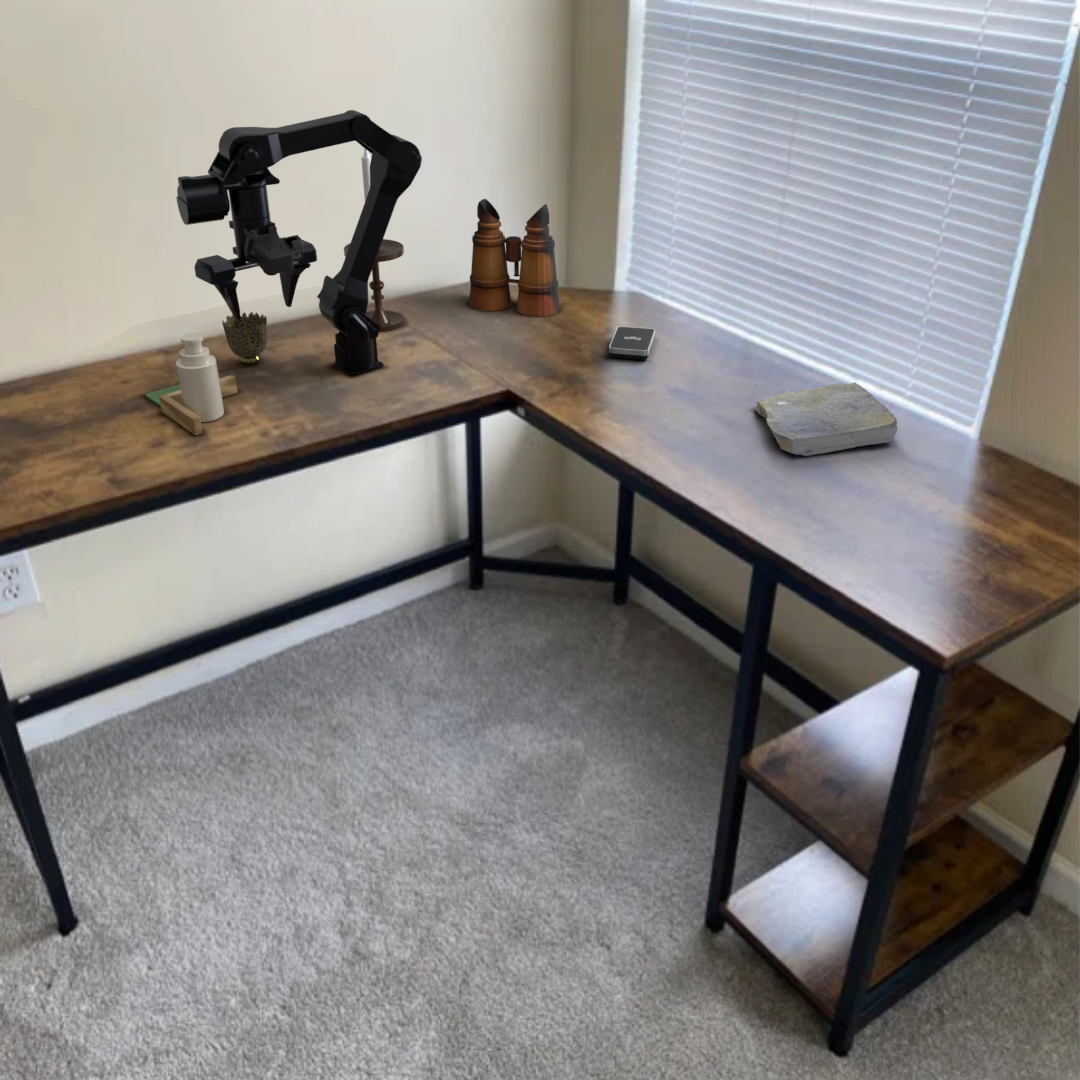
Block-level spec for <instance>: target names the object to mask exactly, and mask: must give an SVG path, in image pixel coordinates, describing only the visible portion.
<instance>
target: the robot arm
mask: <svg viewBox="0 0 1080 1080" xmlns="http://www.w3.org/2000/svg"><path fill="white" fill-rule="evenodd" d="M351 142H356V143H357V144H358V145H359V146H361V147H362V148H363V149H366V150H367V151H368V153H369V154H371V156H372V157H371V162H370V189H369V192H368V195H367V198H366V201H365V200H364V204H363V205H362V206H363V207H362V210H361V212H360V215H359V218H358V221H357V223H356V227H355V229H354V232H353V235H352V238H351V241H350V243H349V244H350V246H349V249H348V252H347V255H346V257H345V256H344V257H345V258H344V261H343V264H342V266H341V268H340V270H339V271H338V272H337V273H336V274H335V276H334V277H331V276H329V275H328V274H327V275H325V276H324V278H323V282H322V288H321V290H320V292H319V293H318V294H317V296H316V298H317V299H319V302H318V309H319V311H320V314H321V315H322V317H324V319H326V321H328V322H329V323H330V324H331V325H332V327H333V328H334V329H336V330H338V331H339V332H336V333H335V334H334V339H335V343H333V349H334V350H333V351H334V359H335V360H334V362H332V366H333V367H334V368H337V369H338V370H341V371H343V372H344V373H347V374H348V375H349V376H350V375H351V376H353V377H355V376H359V375H361V374H364V373H365V374H366V373H367V372H370V371H374V370H377V369H381V368H384V366H385V365H384V362H381V361H380V360H379V356H378V355H379V354H378V344H377V339H378V337H379V333H380V332H379V330H380V325H379V324H377V323H376V322H375V321H373V320H372V319H371V318H369V317H368V316H367V315H366V312H368V311H367V310H368V306H369V280H370V276H371V275H372V268H373V265H374V263H375V260H376V257H377V254H378V252H379V249H380V246H381V243H382V241H383V239H384V237H385V235H386V232H387V229H388V226H389V223H390V221H391V218H392V215H393V212H394V210H395V207H396V205H397V202H398V200H399V198H400V197H401V196H402V195H403V194H404V193H405V192H406V191H407V190H408V189H409V187H410V186H412V183H413V182H414V180H415V177H416V176H417V175H418V173H419V171H420V169H421V166H422V162H423V160H422V159H423V157H422V155H421V152H420V149H419V148H418V147H417V145H416V144H414V143H413V142H412V141H409V140H406V139H405V138H402V137H400V136H398V135H395V134H391V133H390V132H389V131H386V130H385V129H384V128H383V127H381V126H379V124H377V123H375V122H374V121H373V120H371V118H370V117H369V116H368V115H367V114H365V113H362V112H360V111H357V110H355V109H349V110H346V111H345V112H342V113H338V114H334V115H329V116H324V117H320V118H314V119H311V120H306V121H301V122H296V123H292V124H288V125H283V126H277V127H264V126H234V127H230V128H227V129H226V130H224V131H223V132H222V135H221V137H220V138H219V142H218V151H217V153H216V155H215V157H214V159H213V161H212V162H211V164H210V167H209V169H208V170H207V174H204V175H194V176H189V175H185V176H183V175H182V176H178V177H177V183H178V186H177V189H176V190H177V191H176V194H177V196H176V203H177V204H176V205H177V208H178V212H179V215H180V218H181V221H182V222H183V224H184V225H185V226H189V225H196V224H204V223H211V222H217V221H218V222H219V221H223V220H224V219H225V217H226V216H227V217H228V216H229V212H230V211H231V212H230V213H231V219H232V220H228V225H229V226H228V227H229V229H231V230H233V233H234V241H235V246H233V247H232V254H233V255H236V256H237V257H234V258H230V259H227V258H225V257H223V256H221V255H218V254H215V255H210V256H206V257H200V258H197V259H196V262H195V264H194V274H195V278H197V279H199V280H201V281H203V282H206V283H208V284H209V285H213V286H214V287H215V289H216V290H217V291H218V293H219V295H220V296H221V297H222V299H223V300H224V302H225V304H226V306H227V307H228V309H229V311H230V312H231V315H233V316H234V317H235V319H237V320H240V319H241V318H240V316H241V308H240V303H239V297H238V293H237V289H238V286H239V282H238V281H237V280H235V277H236V275H237V274H236V272H239V271H244V270H248V269H253V268H257V267H259V268H260V269H261V270H262V272H263V273H264V274H265V275H266V276H272V277H273V276H276V275H277V274H279V280H280V285H281V291H282V298H283V301H284V304H285V306H286V307H287V308H291V307H292V306H293V301H294V297H295V293H296V289H297V285H298V282H299V279H300V276H301V275H302V274H303V272H304V271H305V270H306V269H309V268H311V264H312V263H316V262H317V261H318V254H317V249H316V247H315V246H314V244H313V243H312V242H309V241H307V240H304V239H302V238H301V237H300V236H299V235H298V234H294V235H289V236H284V237H280V236H279V235H280V234H278V233H279V232H278V230H277V229H278V228H277V226H276V222H273V221H272V220H271V213H270V204H269V196H268V189H267V186H272V185H279V184H280V182H281V180H280V179H279V177H276V176H275V175H274V174H273V173H272V172H271V171H270V169H269V168H270V167H273V166H274V165H276V164H277V163H279V162H280V161H281V160H283V159H285V158H287V157H290V156H294V155H299V154H302V153H307V152H311V151H315V150H320V149H324V148H329V147H334V146H338V145H342V144H346V143H351Z"/></svg>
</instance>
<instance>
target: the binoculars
mask: <svg viewBox="0 0 1080 1080" xmlns="http://www.w3.org/2000/svg"><path fill="white" fill-rule="evenodd" d="M476 216H477V218H478V221H477V223H476V224H477V230H475V231H474V233H473V235H472V236H471V241H472V252H471V253H472V254H471V255H472V256H471V270H470V274H469V283H470V289H469V298H468V304H469V306H470V307H471V308H472V309H475V310H478V311H486V312H493V311H501V310H506V309H508V308H510V307H511V306H512V296H511V289H510V284H516V285H517V287H518V292H517V302H516V311H517V312H518V313H519V314H521V315H524V316H528V317H548V316H553V315H555V314H557V313H559V311H560V310H561V309H560V300H559V299H560V298H559V291H558V289H559V280H558V277H557V266H556V255H555V247H556V242H555V240H554V238H553V236H551V235H550V226H549V225H550V211H549V207H548V204H546V203H545V204H543V205H542V206H541V207H540V208H539V209H538V210H537V211H536V212H535V213H534V214H533V215H532V216H530V218H529V219H528V220H527V221H526V225H525V226H524V230H525V232H526V235H524V236H523V239H522V238H521V237H520V236H515V235H513V236H512V235H511V236H507V237H506V236H505V235H504V231H502V230H500V228H501V227H502V221H500V219H501V218H500V215H499V213H498V211H497V209H496V208H495V207H494V205H493V204H492V203H491V201H489V200H488V199H487V198H483V199H481V200H480V201H478V203H477V207H476ZM508 262H509V263H514V265H513V268H514V270H513V271H514V274H513V277H516V278H517V277H518V278H519V279H515V278H511V277H510V274H509V269H508ZM519 264H520V265H519ZM519 266H520V267H519Z"/></svg>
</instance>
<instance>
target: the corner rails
mask: <svg viewBox="0 0 1080 1080" xmlns="http://www.w3.org/2000/svg"><path fill="white" fill-rule="evenodd" d="M219 381H220V387H221V394H222V398H225V397H228V396H231V395H235V394H237V393H239V392H238V385H237V379H236V376H235V375H233V374H230V375H227V376H222V377H219ZM159 399H160V404H161V407H160V408H161V413H162V414H164V415H165V416H167V417H168V418H169V419H171V420H173V421H174V422H175V423H177V424H178V425H180V426H181V427H182V428H184V429H186V430H187V431H188V432H190V433H191V434H192V435H194V436H198V435H202V434H203V428H202V422H201V421H200V417H199V416H198V415H196V414H195V413H193V412H192V411H190V410H189V409H187V408H186V407H184V406H183V401H182V395H181V390H179V391H175V392H172V393H168V394H165V395H162V396H159Z"/></svg>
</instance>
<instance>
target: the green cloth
mask: <svg viewBox="0 0 1080 1080" xmlns="http://www.w3.org/2000/svg"><path fill="white" fill-rule="evenodd" d="M179 390H180V384H179V383H178V384H174V385H171V386H168V387H164V388H161V389H157V390H154V391H150V392H147V393H144V397H146V398H147V399H148V400H149V401H151V402H153V403H154V404H156V405H157V406H159V407H160V408H161V404H160V399H159V396H162V395H165V394H168V393H172V392H175V391H179Z"/></svg>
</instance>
